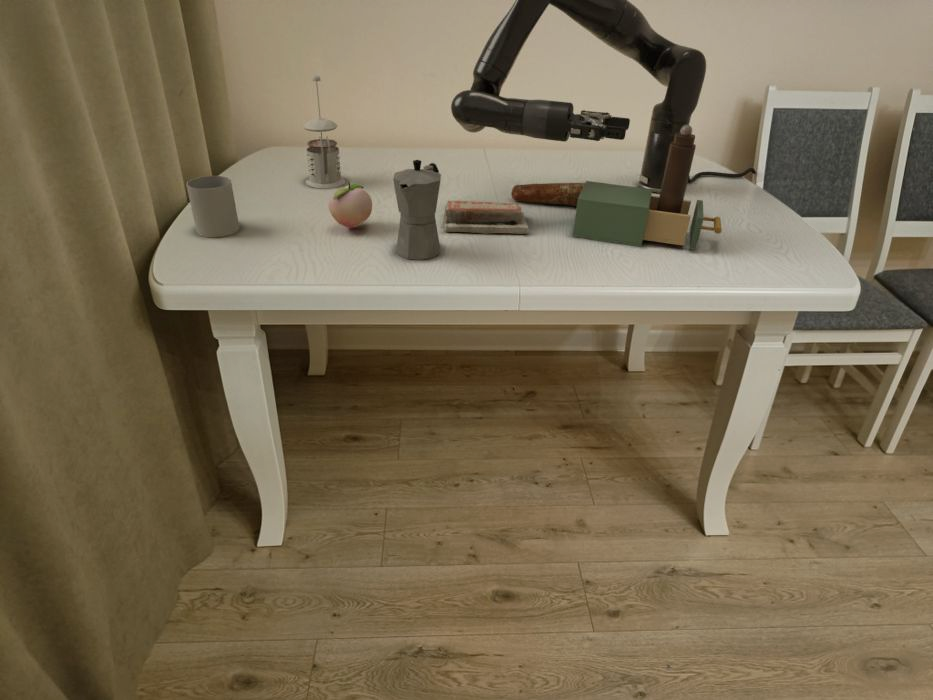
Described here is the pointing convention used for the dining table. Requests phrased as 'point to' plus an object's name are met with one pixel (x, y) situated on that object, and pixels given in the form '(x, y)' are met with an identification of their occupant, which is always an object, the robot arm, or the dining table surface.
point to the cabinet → (612, 213)
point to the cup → (213, 206)
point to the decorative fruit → (350, 205)
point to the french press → (323, 154)
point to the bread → (548, 193)
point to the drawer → (677, 224)
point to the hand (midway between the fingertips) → (627, 129)
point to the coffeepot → (417, 211)
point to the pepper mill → (677, 171)
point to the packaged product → (484, 217)
